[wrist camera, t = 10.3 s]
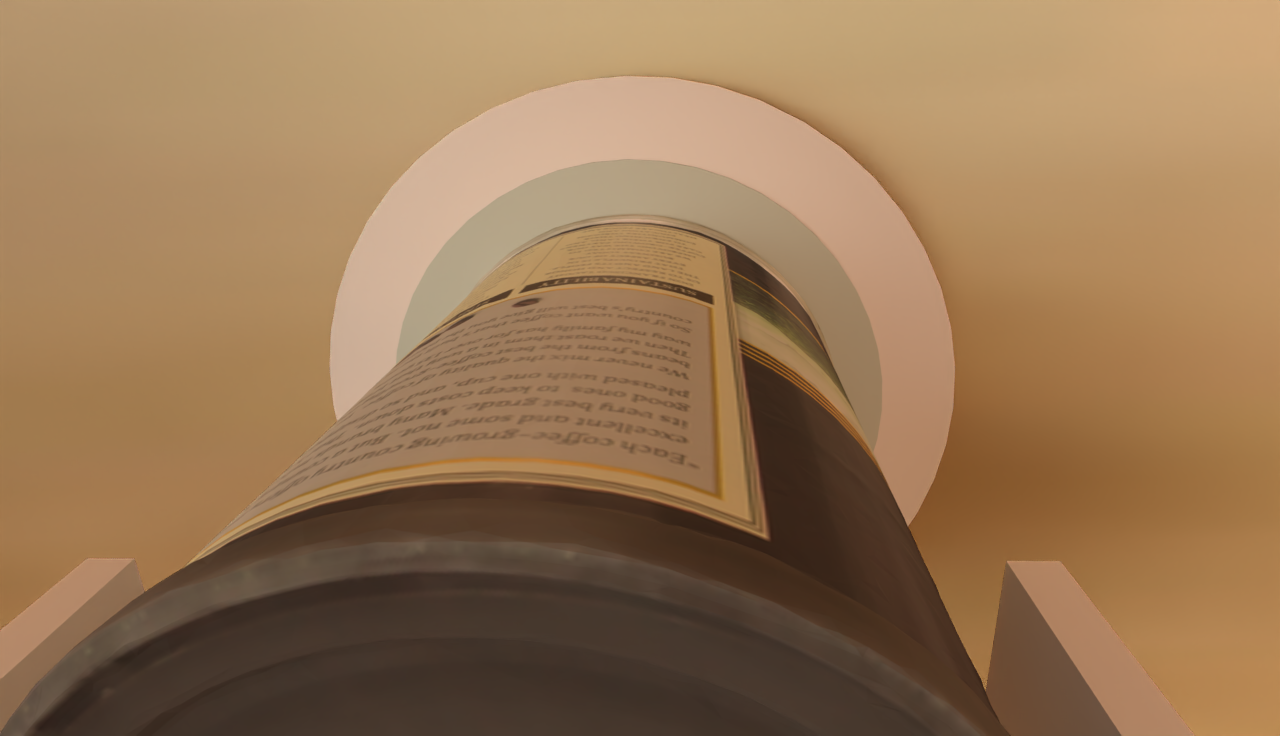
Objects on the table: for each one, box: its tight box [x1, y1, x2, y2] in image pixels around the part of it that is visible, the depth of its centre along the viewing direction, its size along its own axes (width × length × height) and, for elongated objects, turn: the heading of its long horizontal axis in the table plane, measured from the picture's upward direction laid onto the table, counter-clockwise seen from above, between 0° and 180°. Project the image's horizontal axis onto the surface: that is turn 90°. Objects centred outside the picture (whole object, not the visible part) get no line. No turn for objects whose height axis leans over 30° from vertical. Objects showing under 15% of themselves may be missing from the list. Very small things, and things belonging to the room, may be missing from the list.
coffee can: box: [0, 214, 1011, 736], centre depth 14 cm, size 10×10×14 cm
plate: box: [330, 76, 955, 526], centre depth 21 cm, size 16×16×1 cm
